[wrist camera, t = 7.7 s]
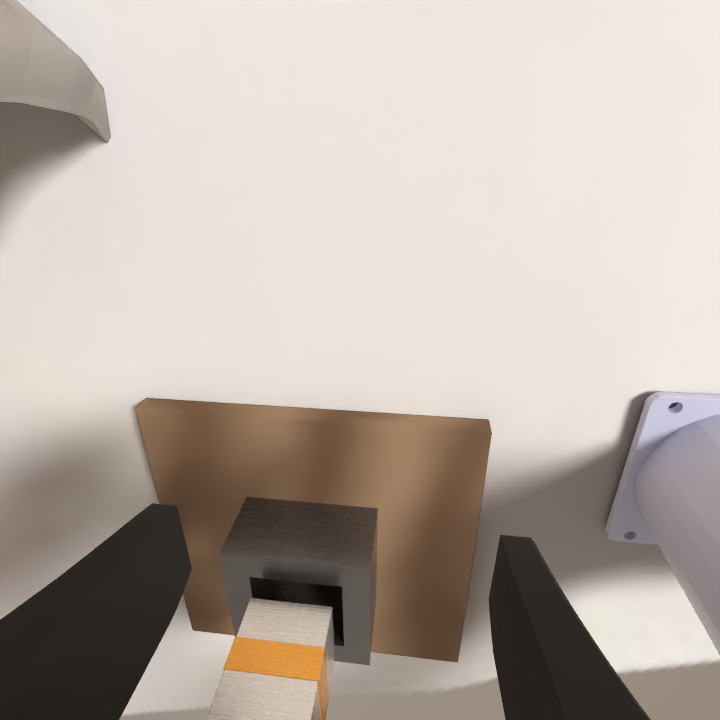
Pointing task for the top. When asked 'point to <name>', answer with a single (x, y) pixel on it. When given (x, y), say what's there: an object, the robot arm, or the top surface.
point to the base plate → (331, 500)
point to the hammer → (46, 70)
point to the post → (278, 664)
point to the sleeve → (307, 565)
